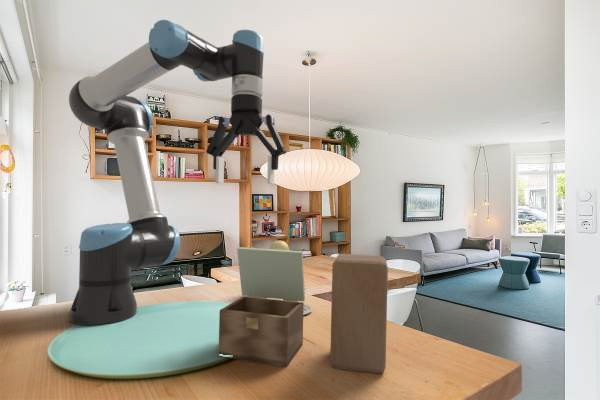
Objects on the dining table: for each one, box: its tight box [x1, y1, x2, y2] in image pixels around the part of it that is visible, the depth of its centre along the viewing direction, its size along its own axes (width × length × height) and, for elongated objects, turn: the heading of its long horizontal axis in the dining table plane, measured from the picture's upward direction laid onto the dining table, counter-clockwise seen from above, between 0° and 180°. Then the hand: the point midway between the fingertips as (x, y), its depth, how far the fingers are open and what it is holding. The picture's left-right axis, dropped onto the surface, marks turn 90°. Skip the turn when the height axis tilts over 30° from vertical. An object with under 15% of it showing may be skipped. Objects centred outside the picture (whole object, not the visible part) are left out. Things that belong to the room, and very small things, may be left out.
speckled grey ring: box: [282, 299, 313, 317], centre depth 100 cm, size 12×12×5 cm
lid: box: [236, 240, 306, 302], centre depth 81 cm, size 14×11×9 cm
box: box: [218, 295, 305, 368], centre depth 73 cm, size 14×11×9 cm
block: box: [329, 253, 389, 374], centre depth 70 cm, size 10×10×20 cm
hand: (244, 183), depth 88 cm, fingers open, 13 cm apart
